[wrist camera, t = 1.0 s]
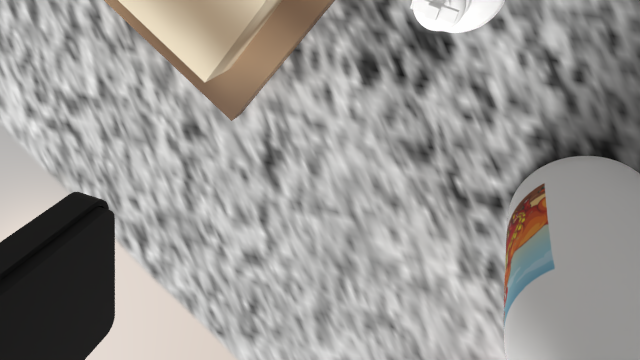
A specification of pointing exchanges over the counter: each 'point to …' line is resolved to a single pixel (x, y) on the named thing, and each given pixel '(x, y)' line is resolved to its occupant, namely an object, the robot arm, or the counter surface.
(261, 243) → the counter surface
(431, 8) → the chess piece
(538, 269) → the milk bottle
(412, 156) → the counter surface
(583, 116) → the counter surface
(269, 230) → the counter surface
